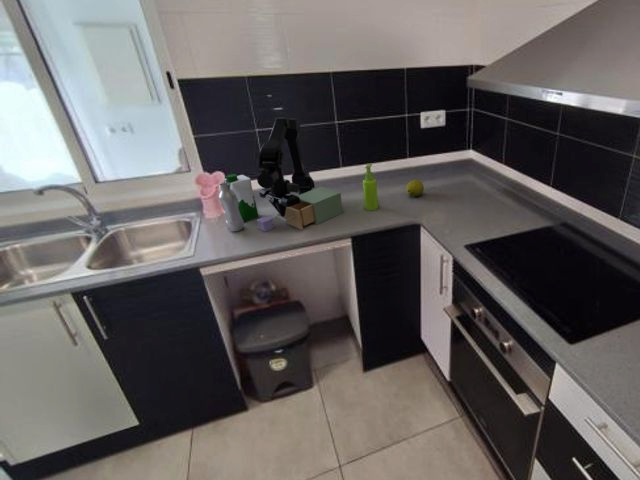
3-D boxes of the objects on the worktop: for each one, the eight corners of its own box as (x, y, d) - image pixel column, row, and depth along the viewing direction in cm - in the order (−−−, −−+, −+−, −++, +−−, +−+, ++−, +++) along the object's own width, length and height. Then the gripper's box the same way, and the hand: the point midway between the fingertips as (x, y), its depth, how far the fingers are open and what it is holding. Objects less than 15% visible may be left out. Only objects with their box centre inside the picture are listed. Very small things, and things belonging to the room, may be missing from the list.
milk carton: (232, 217, 166) (220, 174, 157) (252, 211, 172) (242, 169, 163) (241, 223, 161) (229, 179, 152) (262, 216, 167) (251, 173, 157)
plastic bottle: (248, 227, 159) (237, 181, 149) (237, 234, 153) (224, 188, 143) (236, 224, 160) (224, 180, 151) (224, 232, 155) (210, 186, 145)
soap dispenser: (379, 204, 178) (376, 163, 168) (376, 210, 171) (373, 168, 162) (367, 203, 178) (363, 162, 168) (363, 210, 172) (360, 167, 162)
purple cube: (259, 228, 157) (257, 219, 155) (268, 225, 160) (266, 216, 158) (265, 231, 155) (262, 222, 153) (274, 227, 158) (272, 218, 156)
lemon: (415, 190, 192) (415, 175, 188) (427, 194, 187) (427, 179, 183) (401, 197, 184) (400, 182, 180) (413, 201, 180) (413, 185, 176)
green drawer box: (317, 224, 160) (313, 203, 155) (298, 216, 167) (294, 196, 162) (342, 212, 170) (340, 192, 166) (324, 205, 177) (321, 186, 172)
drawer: (291, 233, 151) (287, 215, 148) (274, 225, 157) (270, 208, 154) (326, 217, 164) (323, 200, 160) (309, 210, 170) (306, 194, 166)
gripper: (308, 178, 146) (314, 215, 153) (279, 169, 156) (285, 204, 163) (284, 186, 138) (290, 225, 145) (255, 176, 148) (262, 213, 155)
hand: (283, 216), depth 153 cm, fingers closed, pressing on drawer
